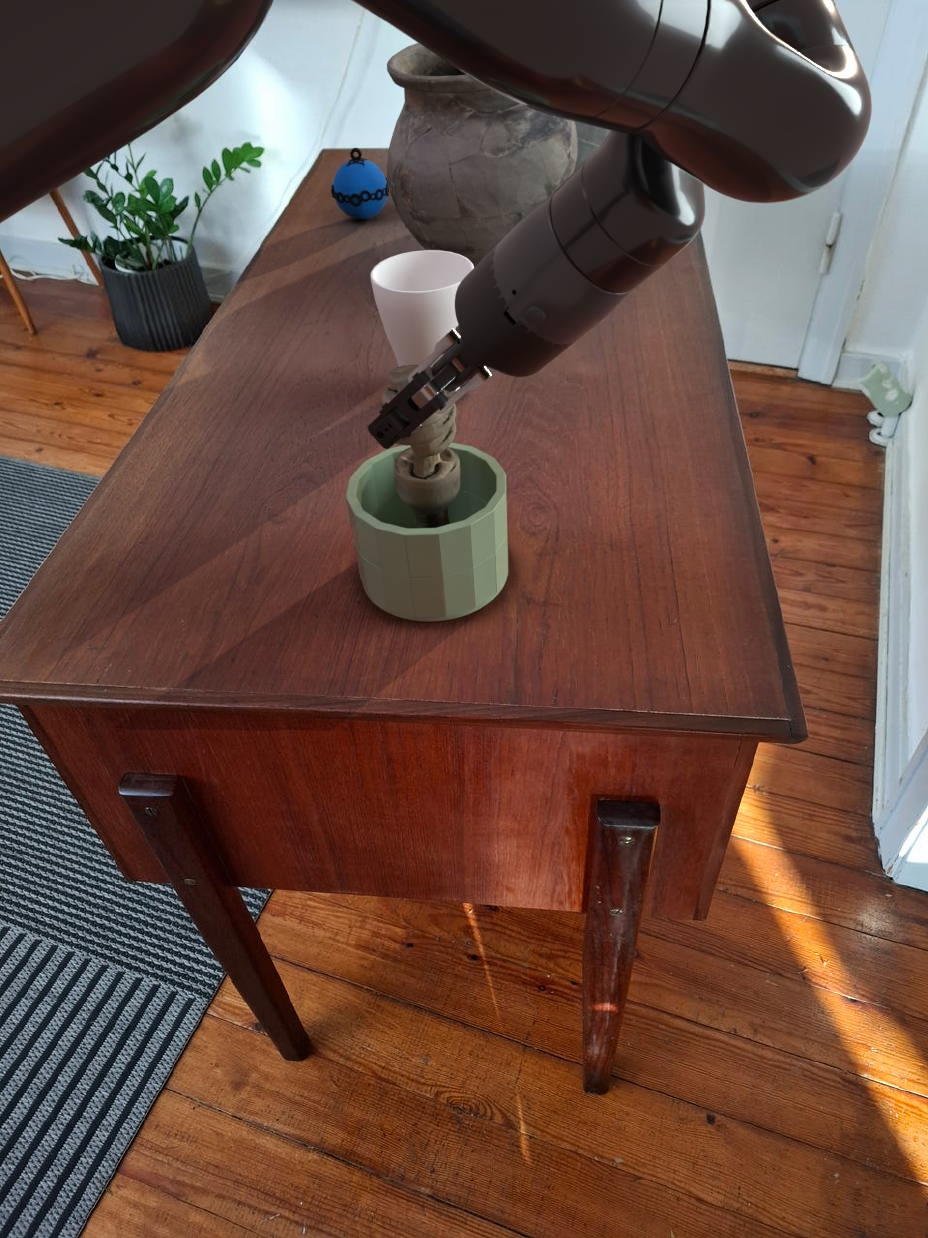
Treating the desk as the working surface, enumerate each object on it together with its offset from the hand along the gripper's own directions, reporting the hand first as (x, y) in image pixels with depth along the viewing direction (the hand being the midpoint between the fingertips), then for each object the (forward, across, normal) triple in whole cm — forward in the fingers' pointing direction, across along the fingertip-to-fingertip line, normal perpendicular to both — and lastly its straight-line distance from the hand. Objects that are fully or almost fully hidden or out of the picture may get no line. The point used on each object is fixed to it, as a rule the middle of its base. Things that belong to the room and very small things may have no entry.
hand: (401, 416), depth 67 cm
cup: (+21, -26, 0) cm, 33 cm away
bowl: (+29, -84, -9) cm, 90 cm away
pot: (+9, 0, +12) cm, 15 cm away
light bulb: (+6, 0, +9) cm, 11 cm away
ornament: (+46, -68, -26) cm, 86 cm away
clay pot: (+26, -54, -5) cm, 60 cm away
